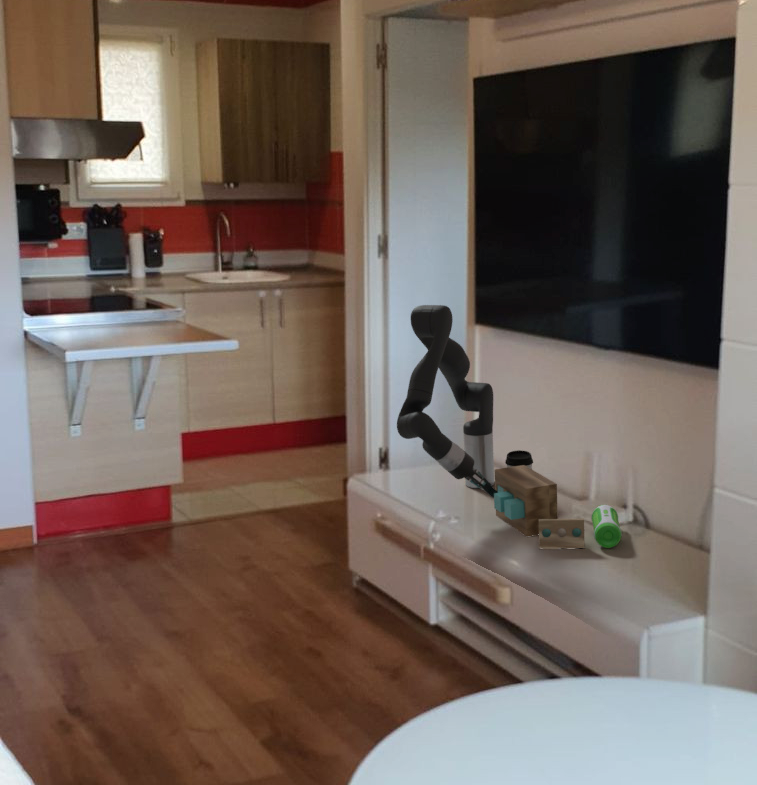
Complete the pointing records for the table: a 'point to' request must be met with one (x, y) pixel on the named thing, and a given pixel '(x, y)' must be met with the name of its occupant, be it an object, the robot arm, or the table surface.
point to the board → (561, 533)
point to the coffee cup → (519, 459)
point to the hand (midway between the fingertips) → (495, 494)
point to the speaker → (606, 526)
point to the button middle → (501, 500)
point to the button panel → (528, 497)
